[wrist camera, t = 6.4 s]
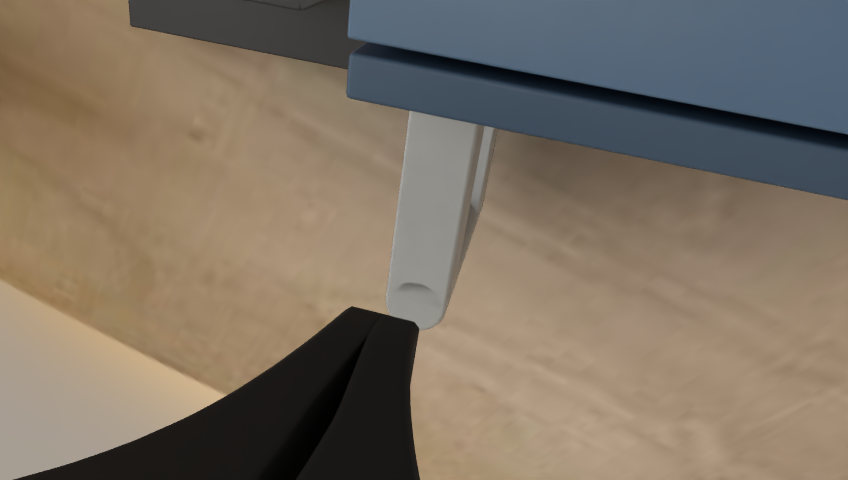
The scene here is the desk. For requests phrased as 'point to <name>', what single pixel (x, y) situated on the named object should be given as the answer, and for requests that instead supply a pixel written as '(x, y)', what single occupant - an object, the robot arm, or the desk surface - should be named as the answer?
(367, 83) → the cabinet door
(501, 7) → the blue-grey cabinet box
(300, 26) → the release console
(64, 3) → the desk surface
